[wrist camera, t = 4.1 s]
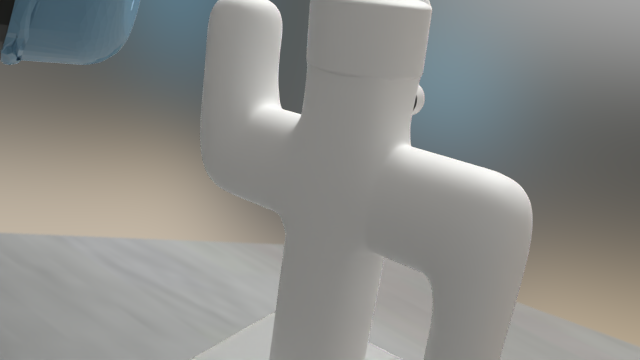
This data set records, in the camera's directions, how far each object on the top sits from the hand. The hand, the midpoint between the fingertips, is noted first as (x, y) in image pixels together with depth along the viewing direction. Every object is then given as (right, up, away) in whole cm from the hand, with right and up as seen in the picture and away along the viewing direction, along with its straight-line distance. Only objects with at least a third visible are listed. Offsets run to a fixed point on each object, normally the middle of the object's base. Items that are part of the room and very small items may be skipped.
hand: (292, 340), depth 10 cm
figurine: (0, -7, +8) cm, 11 cm away
